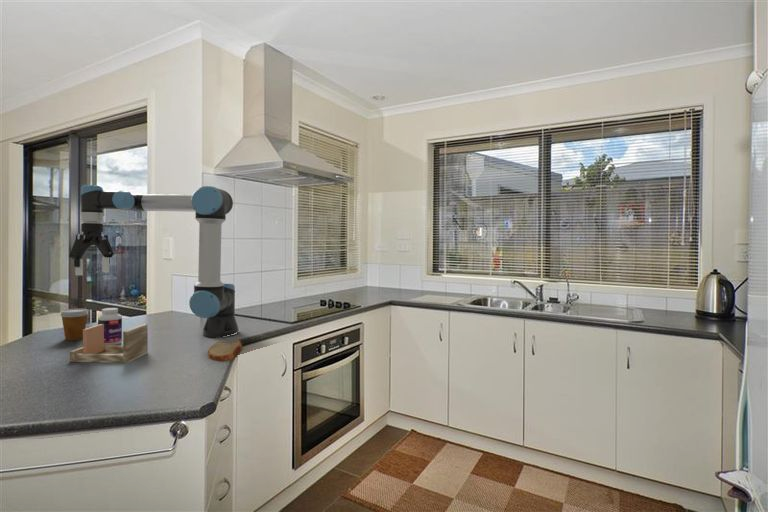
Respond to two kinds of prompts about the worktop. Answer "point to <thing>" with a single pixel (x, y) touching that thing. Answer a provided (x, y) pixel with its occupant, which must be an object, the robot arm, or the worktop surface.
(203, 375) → the worktop surface
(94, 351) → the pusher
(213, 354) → the slice of bread
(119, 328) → the pill bottle
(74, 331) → the disposable coffee cup
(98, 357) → the lane
